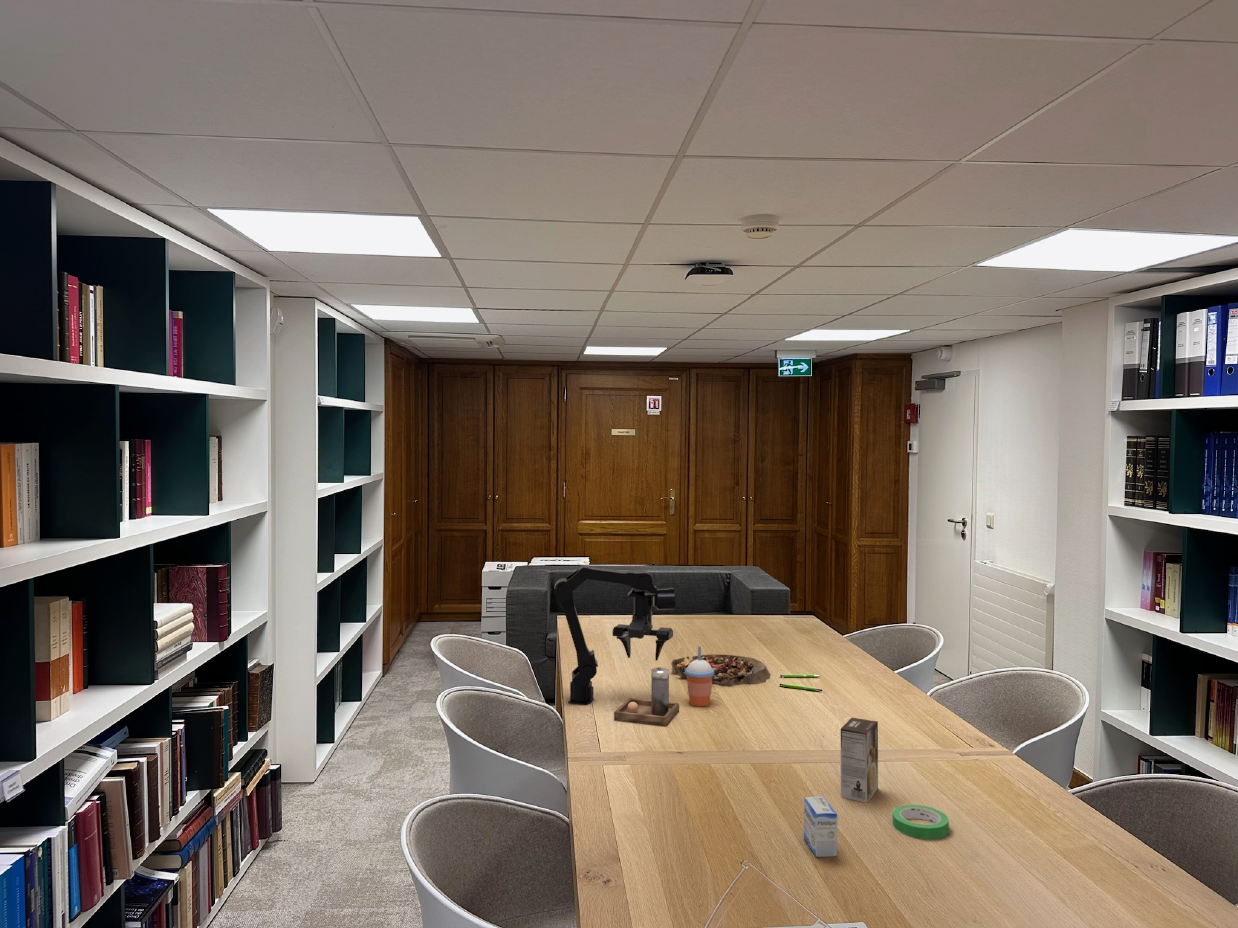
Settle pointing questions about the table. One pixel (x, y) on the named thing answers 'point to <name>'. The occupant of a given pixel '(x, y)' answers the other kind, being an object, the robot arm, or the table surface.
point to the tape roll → (920, 830)
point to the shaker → (659, 691)
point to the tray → (645, 713)
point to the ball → (632, 707)
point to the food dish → (728, 669)
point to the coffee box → (859, 759)
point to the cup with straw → (699, 681)
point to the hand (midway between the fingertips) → (642, 658)
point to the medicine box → (820, 827)
